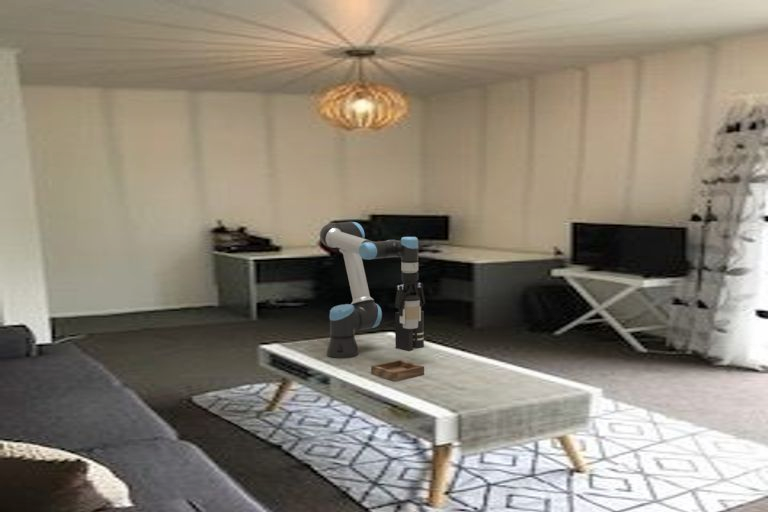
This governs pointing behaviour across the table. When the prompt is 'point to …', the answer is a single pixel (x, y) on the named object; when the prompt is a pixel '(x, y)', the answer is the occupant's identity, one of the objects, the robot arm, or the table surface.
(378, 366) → the tray
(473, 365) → the table surface
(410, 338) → the light fixture
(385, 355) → the table surface
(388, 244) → the robot arm
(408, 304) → the coffee cup
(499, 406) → the table surface
